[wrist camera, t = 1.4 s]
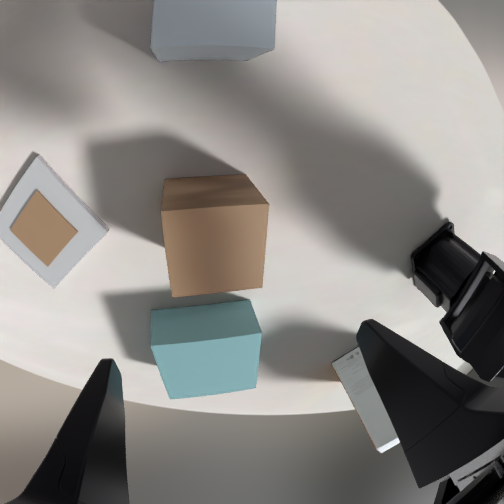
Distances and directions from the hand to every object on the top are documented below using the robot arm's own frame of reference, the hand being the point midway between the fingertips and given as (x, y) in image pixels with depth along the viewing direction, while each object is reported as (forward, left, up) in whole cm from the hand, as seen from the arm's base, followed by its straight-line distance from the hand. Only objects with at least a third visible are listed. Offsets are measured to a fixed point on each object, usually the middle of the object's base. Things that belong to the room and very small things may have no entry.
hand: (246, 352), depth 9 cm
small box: (-2, +29, -11) cm, 31 cm away
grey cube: (-7, -10, -11) cm, 17 cm away
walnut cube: (0, 0, -11) cm, 11 cm away
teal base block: (+8, +9, -11) cm, 16 cm away
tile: (+9, -7, -11) cm, 16 cm away
